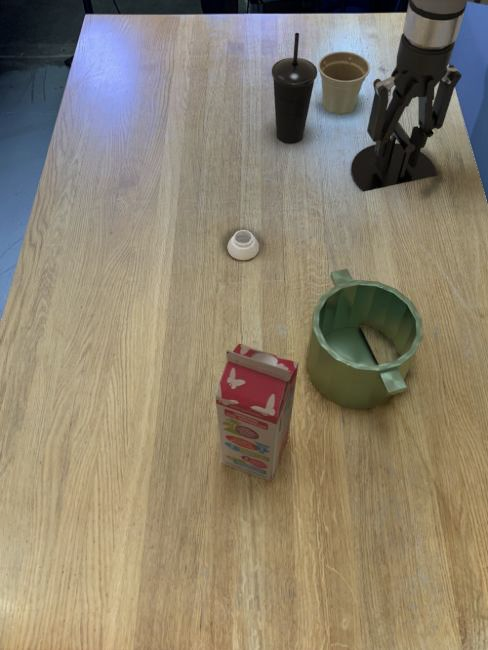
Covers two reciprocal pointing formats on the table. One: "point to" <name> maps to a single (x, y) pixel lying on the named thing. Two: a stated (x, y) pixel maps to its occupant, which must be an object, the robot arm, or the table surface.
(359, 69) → the flower pot
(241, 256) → the white jar
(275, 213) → the table surface
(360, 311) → the pot
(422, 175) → the lid
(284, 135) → the drinking cup
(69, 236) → the table surface
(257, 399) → the juice carton
